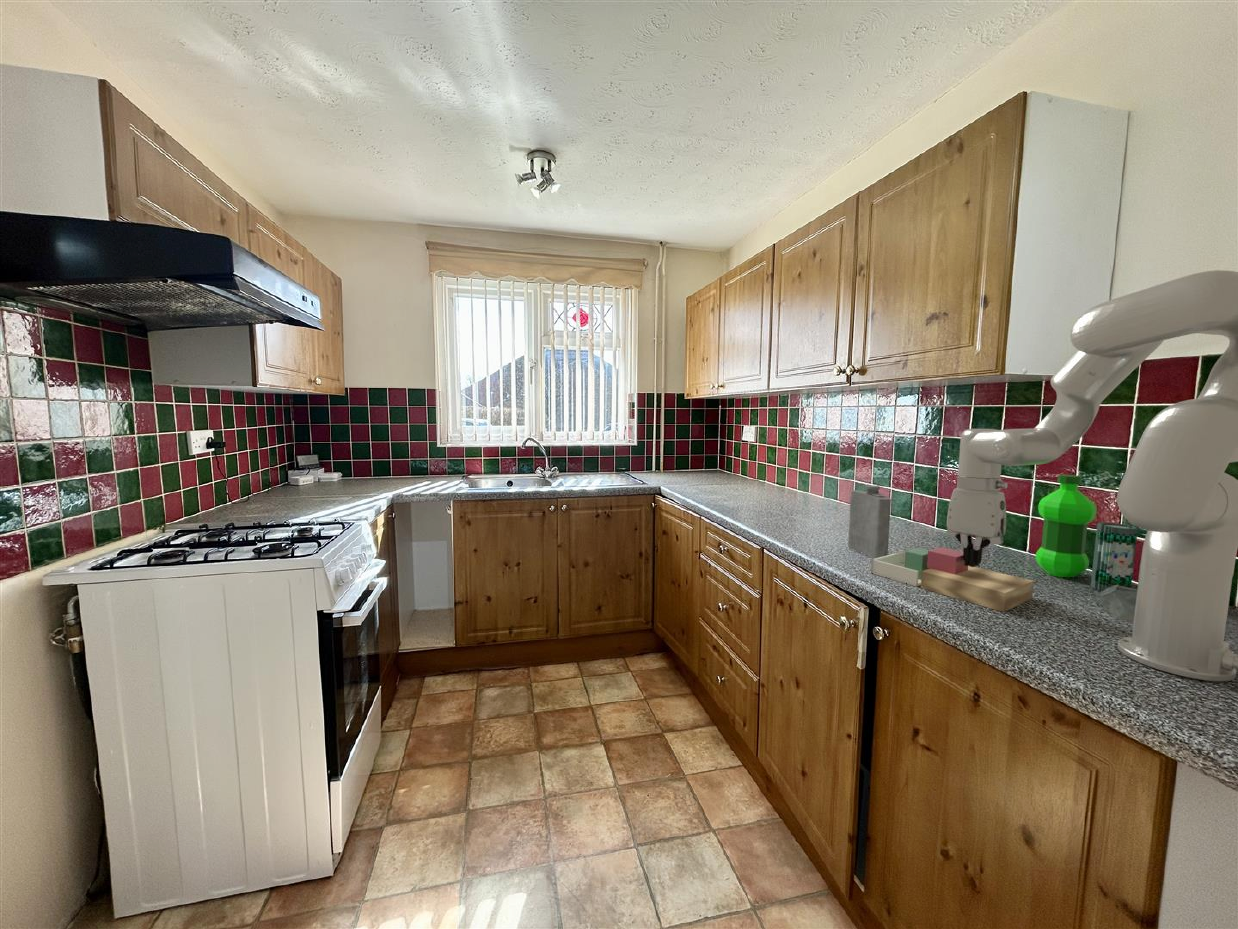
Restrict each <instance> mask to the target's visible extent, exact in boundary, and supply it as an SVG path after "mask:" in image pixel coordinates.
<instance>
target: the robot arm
mask: <svg viewBox="0 0 1238 929" xmlns="http://www.w3.org/2000/svg"><path fill="white" fill-rule="evenodd" d="M1193 334H1194V335H1195V334H1202V335H1203V334H1205V335H1215V336H1223V337H1226V338H1228V340H1229V344H1228V347H1227V348H1226V349H1225V351H1224V352H1223V353H1222V354H1221V356H1220V357H1219V358H1218V359H1217V361H1216V362H1215V363H1214V365H1213V366H1212V368H1211V371H1210V372H1209V375H1208V378H1207V380H1206V382H1205V384H1204V386H1203V388H1202V390H1201V391H1200V394H1199V395H1198V397H1197V398H1194V399H1192V398H1191V399H1187V400H1182V401H1178V402H1176V403H1174V404H1171V405H1169V406H1167V407H1166V408H1164V409H1162V410H1161V411H1160V412H1158V413H1157V414H1156V415H1155V416H1154V417H1153V418H1152V419H1151V420H1150V422H1149V423H1148V424H1147V426H1146V427H1145V429H1144V431H1143V433H1142V435H1141V437H1140V439H1139V442H1138V444H1137V445H1136V448H1135V450H1134V452H1133V455H1132V456H1131V459H1130V461H1129V463H1128V465H1127V468H1126V471H1125V472H1124V474H1123V476H1122V479H1121V480H1120V484H1119V486H1118V490H1117V495H1116V499H1117V500H1116V502H1117V506H1118V509H1119V511H1120V513H1121V515H1122V516H1123V517H1124V519H1126V520H1127V521H1128V522H1129V523H1131V524H1132V526H1134V527H1137V528H1138V529H1141V530H1145V531H1146V535H1145V538H1144V540H1143V545H1142V550H1141V559H1140V565H1139V573H1138V583H1137V588H1136V589H1137V598H1136V607H1135V615H1134V623H1133V624H1132V625H1133V627H1132V634H1131V636H1127V637H1122V638H1120V639H1118V640H1117V646H1116V647H1117V649H1118V650H1119V652H1121V653H1122V654H1123V655H1125V656H1126V657H1128V658H1130V659H1132V660H1133V661H1136V662H1137V663H1139V664H1143V665H1145V666H1148V667H1150V668H1153V669H1156V670H1159V671H1161V672H1166V673H1168V674H1173V675H1177V676H1181V677H1183V678H1184V677H1185V678H1189V679H1190V678H1191V679H1195V680H1201V681H1209V682H1229V681H1233V680H1234V679H1236V677H1237V671H1238V654H1237V653H1235V651H1232V650H1230V645H1231V643H1230V642H1228V641H1224V640H1225V634H1226V627H1227V626H1226V625H1227V619H1228V612H1229V606H1230V597H1231V590H1232V584H1233V583H1232V582H1233V577H1234V572H1235V567H1236V566H1235V565H1236V558H1237V552H1238V479H1237V478H1235V477H1234V476H1232V475H1230V474H1228V473H1226V472H1225V471H1226V469H1227V468H1228V466H1229V465H1230V463H1237V462H1238V271H1233V270H1220V269H1219V270H1218V269H1217V270H1208V271H1202V272H1197V273H1196V272H1195V273H1193V274H1189V275H1185V276H1182V277H1179V278H1176V279H1173V280H1169V281H1166V282H1162V283H1160V284H1157V285H1155V286H1151V287H1148V288H1144V289H1141V290H1139V291H1135V292H1132V293H1129V294H1125V295H1123V296H1120V297H1119V296H1118V297H1116V298H1114V299H1111V300H1108V301H1105V302H1102V303H1099V304H1097V305H1095V306H1093V307H1090V309H1088V310H1086V311H1085V312H1084V313H1082V314H1081V315H1080V316H1079V317H1078V319H1076V320H1075V321H1074V323H1073V325H1072V327H1071V330H1070V336H1069V337H1070V342H1071V344H1072V346H1073V347H1074V348H1075V349H1076V350H1075V351H1074V352H1073V354H1072V355H1071V356H1070V357H1069V358H1068V359H1067V360H1066V361H1065V362H1064V363H1063V364H1062V365H1061V366H1060V368H1059V369H1058V370H1057V371H1056V372H1055V373H1054V374H1053V375H1052V376H1051V378H1050V385H1051V387H1052V389H1053V390H1054V391H1055V393H1056V401H1055V403H1054V405H1053V408H1051V410H1050V412H1049V413H1048V414H1046V416H1045V417H1044V418H1043V419H1042V420H1041V421H1040V422H1039V423H1038V424H1037V425H1036V426H1035V427H1034V428H1009V429H1008V428H1007V429H994V428H967V429H965V430H963V431H962V433H961V436H960V443H959V457H958V472H957V480H956V481H957V482H956V484H957V485H956V488H954V489H953V490H952V493H951V496H950V500H949V503H948V504H949V505H948V510H947V516H946V529H947V530H946V535H948V536H950V537H952V538H955V539H956V540H957V541H958V542H959V543H960V546H961V547H962V548H963V551H962V552H963V560H964V561H965V562H964V565H966V566H970V567H977V566H979V565H980V564H981V563H982V556H983V549H985V548H986V547H988V546H989V545H990V546H992V545H993V546H994V545H996V546H998V545H1002V544H1004V537H1003V536H1005V534H1006V531H1007V506H1006V505H1007V504H1006V498H1005V493H1004V492H1001V489H1007V488H1008V482H1006V481H1005V482H1004V481H1003V480H1002V478H1001V474H1002V466H1008V467H1015V466H1016V467H1018V466H1032V465H1033V466H1034V465H1035V466H1037V465H1044V464H1049V463H1052V462H1053V461H1055V460H1056V459H1058V458H1060V457H1061V456H1062V455H1063V454H1065V453H1066V452H1067V451H1069V449H1070V448H1071V447H1072V446H1074V445H1075V444H1076V443H1077V442H1078V441H1079V440H1080V439H1081V438H1082V437H1083V436H1084V435H1085V434H1086V433H1087V431H1088V430H1089V429H1090V427H1091V426H1092V424H1093V422H1094V420H1095V418H1096V417H1097V414H1098V412H1099V409H1100V406H1101V404H1102V402H1103V401H1104V400H1105V399H1107V397H1108V396H1109V395H1110V394H1111V393H1112V392H1113V391H1114V390H1115V389H1116V388H1117V387H1118V386H1119V385H1120V384H1121V383H1122V382H1123V381H1124V380H1125V379H1126V378H1127V377H1128V376H1130V375H1131V373H1132V372H1133V371H1134V370H1136V369H1138V367H1139V366H1140V365H1141V364H1142V363H1143V362H1144V361H1145V360H1146V359H1147V358H1149V356H1150V355H1152V354H1153V353H1154V352H1155V350H1157V349H1158V348H1159V347H1160V346H1161V345H1162V344H1163V342H1164V341H1166V340H1170V339H1174V338H1179V337H1182V336H1189V335H1193ZM973 536H974V537H975V539H973ZM973 540H974V541H973Z"/></svg>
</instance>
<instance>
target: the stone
mask: <svg viewBox="0 0 1238 929" xmlns="http://www.w3.org/2000/svg"><path fill="white" fill-rule="evenodd" d="M1137 589H1138V588H1132V587H1131V588H1128V587H1124V586H1120V585H1114V586H1112V587H1109V588H1106V589H1105V590H1104V591H1099V593H1097V596H1098V598H1099V601H1100V603H1101V606H1102V607H1103V608H1104V611H1105V612H1108V613H1110V614H1111V615H1113V616H1115V617H1116V618H1117V619H1119V620H1120V621H1124V622H1126V623H1133V624H1134V615H1135V607H1136V598H1137Z"/></svg>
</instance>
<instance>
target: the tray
mask: <svg viewBox="0 0 1238 929" xmlns="http://www.w3.org/2000/svg"><path fill="white" fill-rule="evenodd" d="M870 564H871V565H870V566H871V567H870V574H871V573H873V574H872V575H875V574H876V576H878V575H879V577H882V578H885V577H887V578H886V579H888V578H890V579H889V580H892V579H893V581H896V582H899V583H902V584H906V583H907V584H906V585H909V586H913V587H921V580H920V579H918V573H919V571H916V570H912V569H908V568H905V567H904V565H905V551H903V550H902V551H899V552H895V553H891V554H888V555H887V556H883V557H879V558H875V559H871V563H870Z"/></svg>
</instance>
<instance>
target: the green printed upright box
mask: <svg viewBox="0 0 1238 929" xmlns="http://www.w3.org/2000/svg"><path fill="white" fill-rule="evenodd" d="M1138 531H1139V527H1137V526H1135V525H1130V524H1123V523H1115V522H1097V523H1096V533H1095V540H1094V550H1093V561H1092V569H1091V570H1092V571H1091V580H1090V587H1091V588H1092V589H1093V588H1094V590H1097V589H1098V590H1101V591H1100V592H1102V591H1104V590H1105V589H1106V588H1109V587H1112V586H1114V585H1120V586H1124V587H1128V588H1132V583H1133V582H1132V581H1133V574H1134V566H1135V557H1136V551H1137V550H1136V549H1137V541H1138V540H1137V539H1138ZM1098 590H1097V591H1098Z"/></svg>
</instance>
